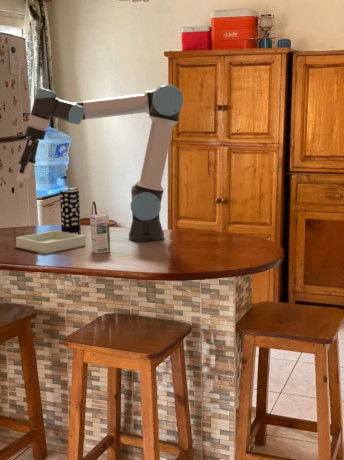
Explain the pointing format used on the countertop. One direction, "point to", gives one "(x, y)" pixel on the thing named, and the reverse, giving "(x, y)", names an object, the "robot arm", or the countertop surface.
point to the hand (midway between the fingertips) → (22, 179)
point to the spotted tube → (70, 211)
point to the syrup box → (100, 233)
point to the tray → (50, 241)
